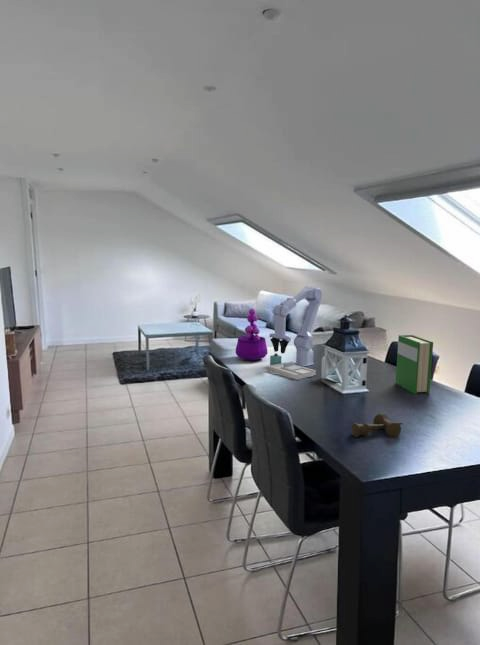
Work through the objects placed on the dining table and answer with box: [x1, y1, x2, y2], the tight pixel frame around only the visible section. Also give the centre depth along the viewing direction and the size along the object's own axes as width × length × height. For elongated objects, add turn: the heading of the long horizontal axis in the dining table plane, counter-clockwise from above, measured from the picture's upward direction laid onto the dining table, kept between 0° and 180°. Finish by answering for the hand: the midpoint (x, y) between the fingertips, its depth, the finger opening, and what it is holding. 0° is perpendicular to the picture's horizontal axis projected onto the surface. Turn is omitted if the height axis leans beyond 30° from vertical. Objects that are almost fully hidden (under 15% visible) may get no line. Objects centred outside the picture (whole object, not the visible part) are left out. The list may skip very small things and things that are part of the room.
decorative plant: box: [235, 308, 268, 361], centre depth 280 cm, size 19×18×30 cm
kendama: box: [350, 413, 403, 438], centre depth 171 cm, size 6×10×20 cm
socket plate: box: [266, 362, 317, 380], centre depth 251 cm, size 14×24×3 cm, turn 38°
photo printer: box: [320, 355, 326, 380], centre depth 238 cm, size 10×4×12 cm, turn 39°
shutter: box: [283, 361, 302, 370], centre depth 251 cm, size 7×7×2 cm
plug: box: [269, 352, 282, 366], centre depth 265 cm, size 4×4×7 cm
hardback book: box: [395, 334, 434, 395], centre depth 226 cm, size 18×7×24 cm, turn 10°
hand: (279, 352), depth 258 cm, fingers open, 5 cm apart
